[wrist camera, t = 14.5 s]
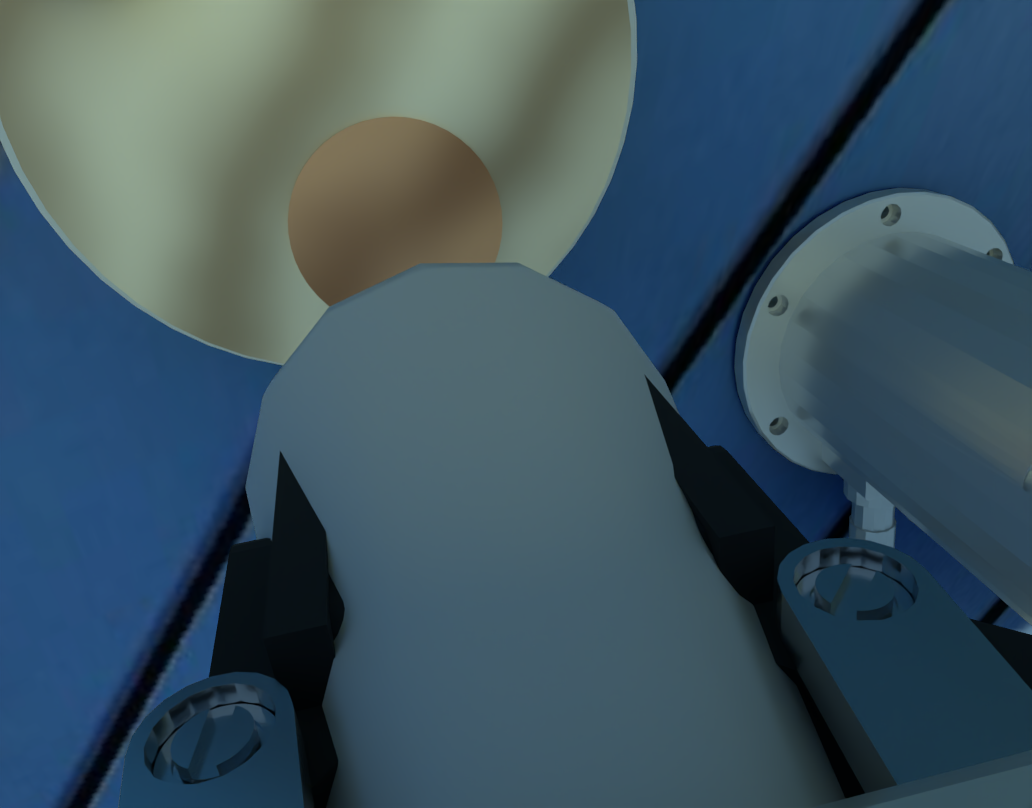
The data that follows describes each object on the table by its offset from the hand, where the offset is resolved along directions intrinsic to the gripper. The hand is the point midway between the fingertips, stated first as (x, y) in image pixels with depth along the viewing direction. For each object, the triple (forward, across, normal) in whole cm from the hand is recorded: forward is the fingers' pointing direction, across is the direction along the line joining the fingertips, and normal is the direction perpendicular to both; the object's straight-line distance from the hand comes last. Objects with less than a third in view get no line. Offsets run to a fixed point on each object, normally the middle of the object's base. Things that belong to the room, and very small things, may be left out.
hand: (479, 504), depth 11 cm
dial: (+22, +1, -4) cm, 22 cm away
